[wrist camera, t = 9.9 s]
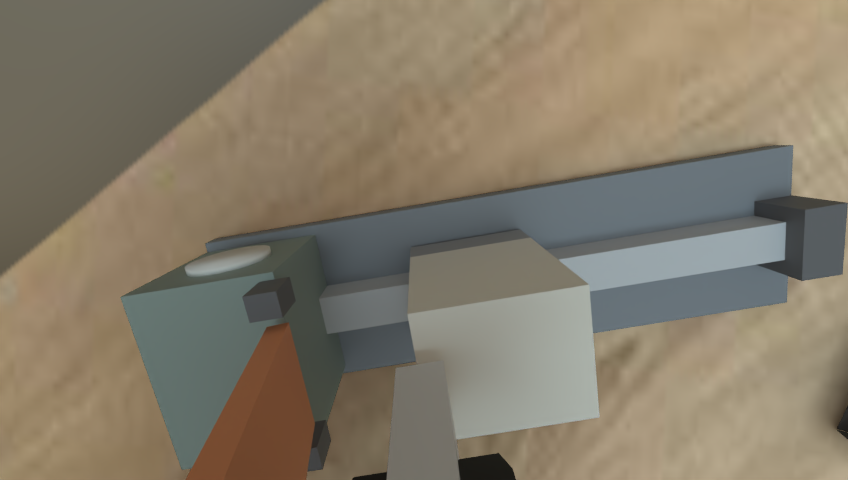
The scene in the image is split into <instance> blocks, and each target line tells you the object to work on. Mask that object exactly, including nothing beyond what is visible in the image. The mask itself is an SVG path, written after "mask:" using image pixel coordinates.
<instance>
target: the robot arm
mask: <svg viewBox="0 0 848 480" xmlns="http://www.w3.org/2000/svg"><path fill="white" fill-rule="evenodd" d="M352 480H516V479H515V475H514V472H513V469H512V468H511V466H510V465H509V464H508V463H507V462H506V461H505V460H504V459H503V457H502V456H501V455H500V454H499V453H497V454H491V455H484V456H478V457H471V458H465V459H459V453H458V446H457V439H456V433H455V427H454V421H453V415H452V409H451V403H450V397H449V391H448V385H447V379H446V373H445V367H444V361H443V360H442V361H436V362H430V363H424V364H417V365H411V366H405V367H398V368H396V372H395V384H394V396H393V408H392V420H391V432H390V444H389V456H388V468H387V472H385V473H378V474H372V475H366V476H359V477H354V478H353V479H352Z"/></svg>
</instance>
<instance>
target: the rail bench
mask: <svg viewBox="0 0 848 480" xmlns="http://www.w3.org/2000/svg"><path fill="white" fill-rule="evenodd" d="M792 159H793V145H773V146H767V147H761V148H755V149H749V150H743V151H737V152H731V153H725V154H719V155H714V156H708V157H702V158H696V159H690V160H684V161H678V162H672V163H666V164H660V165H654V166H648V167H642V168H636V169H630V170H624V171H618V172H612V173H606V174H600V175H594V176H588V177H582V178H576V179H570V180H564V181H558V182H552V183H546V184H540V185H534V186H528V187H522V188H516V189H510V190H504V191H498V192H492V193H486V194H480V195H474V196H468V197H462V198H456V199H450V200H444V201H438V202H432V203H426V204H420V205H414V206H408V207H402V208H396V209H390V210H384V211H378V212H372V213H366V214H360V215H355V216H349V217H343V218H337V219H331V220H325V221H319V222H313V223H307V224H301V225H295V226H289V227H283V228H277V229H271V230H265V231H259V232H253V233H247V234H241V235H235V236H229V237H223V238H217V239H214V240H212V241H210V242H208V243H205V244H206V248H207V251H208V252H207V253H205V254H204V255H202V256H200V257H198V258H196V259H194V260H192V261H190V262H188V263H186V264H184V265H182V266H180V267H178V268H176V269H174V270H172V271H170V272H168V273H166V274H165V275H163V276H161V277H159V278H157V279H155V280H153V281H151V282H149V283H147V284H145V285H143V286H141V287H139V288H137V289H135V290H133V291H131V292H129V293H127V294H126V295H124V296H122V297H121V300H122V303H123V306H124V309H125V311H126V314H127V317H128V320H129V323H130V325H131V328H132V331H133V334H134V337H135V339H136V342H137V345H138V348H139V351H140V353H141V356H142V359H143V362H144V365H145V368H146V370H147V373H148V376H149V379H150V382H151V384H152V387H153V390H154V393H155V396H156V398H157V401H158V404H159V407H160V410H161V412H162V415H163V418H164V421H165V424H166V427H167V429H168V432H169V435H170V438H171V441H172V443H173V446H174V449H175V452H176V455H177V457H178V460H179V463H180V466H181V469H182V470H184V469H190V468H192V467H193V465H194V463H195V461H196V459H197V457H198V456H199V454H200V452H201V450H202V448H203V446H204V444H205V442H206V440H207V439H208V437H209V435H210V433H211V431H212V429H213V427H214V425H215V424H216V422H217V420H218V418H219V416H220V414H221V412H222V410H223V408H224V407H225V405H226V403H227V401H228V399H229V397H230V395H231V393H232V392H233V390H234V388H235V386H236V384H237V382H238V380H239V378H240V376H241V375H242V373H243V371H244V369H245V367H246V365H247V363H248V361H249V360H250V358H251V356H252V354H253V352H254V350H255V348H256V346H257V344H258V343H259V341H260V339H261V337H262V335H263V333H264V331H265V329H266V328H267V327H269V326H274V325H278V324H283V323H288V322H289V326H290V329H291V333H292V337H293V341H294V345H295V349H296V352H297V356H298V360H299V364H300V368H301V372H302V376H303V379H304V383H305V387H306V391H307V395H308V399H309V402H310V406H311V410H312V414H313V418H314V422H315V426H314V433H313V439H312V445H311V451H310V458H309V464H308V470H307V472H308V471H314V470H321V469H323V466H324V463H325V459H326V456H327V452H328V449H329V445H330V442H331V438H330V434H329V430H328V426H327V421H328V418H329V415H330V412H331V408H332V405H333V402H334V399H335V396H336V393H337V390H338V387H339V384H340V380H341V377H342V374H343V373H348V372H354V371H360V370H366V369H373V368H379V367H385V366H391V365H398V364H404V363H410V362H416V358H415V353H414V347H413V342H412V337H411V331H410V326H409V321H408V315H407V311H408V291H409V271H410V251H411V247H416V246H423V245H429V244H435V243H441V242H447V241H453V240H459V239H465V238H471V237H477V236H483V235H489V234H495V233H501V232H507V231H513V230H519V229H520V230H522V231H523V232H524V233H525V234H527V235H528V236H529V237H530V238H532V239H533V240H534V241H535V242H537V243H538V244H539V245H540V246H542V247H543V248H544V249H545V250H547V251H548V252H549V253H550V254H552V255H553V256H554V257H555V258H557V259H558V260H559V261H560V262H562V263H563V264H564V265H565V266H567V267H568V268H569V269H570V270H572V271H573V272H574V273H575V274H577V275H578V276H579V277H580V278H582V279H583V280H584V281H585V282H587V283H588V284H589V288H590V301H591V314H592V327H593V333H597V332H604V331H610V330H616V329H622V328H629V327H635V326H641V325H647V324H654V323H660V322H666V321H672V320H679V319H685V318H691V317H697V316H704V315H710V314H716V313H722V312H729V311H735V310H741V309H747V308H754V307H760V306H766V305H772V304H779V303H785V302H787V284H788V276H790V277H792V278H795V279H798V280H801V281H804V280H810V279H816V278H823V277H829V276H835V275H841V274H842V273H843V260H844V246H845V232H846V218H847V204H848V203H844V202H837V201H829V200H822V199H814V198H807V197H799V196H791V184H792Z"/></svg>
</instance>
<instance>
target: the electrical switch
mask: <svg viewBox="0 0 848 480" xmlns="http://www.w3.org/2000/svg"><path fill="white" fill-rule="evenodd" d="M837 429H840V430H843V431H840V430H837V431H839V432H840V433H841V434H842V435H843V436H844V437H845V438H847V439H848V433H847V432H848V406H847V409H846V411H845V413H844V415H843V417H842V419H841V421H840V423H839V425H838V428H837ZM844 431H846V432H844Z"/></svg>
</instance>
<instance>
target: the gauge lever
mask: <svg viewBox="0 0 848 480" xmlns="http://www.w3.org/2000/svg"><path fill="white" fill-rule="evenodd" d="M314 426H315V422H314V418H313V414H312V410H311V406H310V402H309V399H308V395H307V391H306V387H305V383H304V379H303V376H302V372H301V368H300V364H299V360H298V356H297V352H296V349H295V345H294V341H293V337H292V333H291V329H290V326H289V322H288V323H283V324H278V325H274V326H269V327H267V328H266V329H265V331H264V333H263V335H262V337H261V339H260V341H259V343H258V344H257V346H256V348H255V350H254V352H253V354H252V356H251V358H250V360H249V361H248V363H247V365H246V367H245V369H244V371H243V373H242V375H241V376H240V378H239V380H238V382H237V384H236V386H235V388H234V390H233V392H232V393H231V395H230V397H229V399H228V401H227V403H226V405H225V407H224V408H223V410H222V412H221V414H220V416H219V418H218V420H217V422H216V424H215V425H214V427H213V429H212V431H211V433H210V435H209V437H208V439H207V440H206V442H205V444H204V446H203V448H202V450H201V452H200V454H199V456H198V457H197V459H196V461H195V463H194V465H193V467H192V469H191V471H190V472H189V474H188V476H187V478H186V480H306V476H307V470H308V464H309V458H310V451H311V445H312V439H313V433H314Z"/></svg>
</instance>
